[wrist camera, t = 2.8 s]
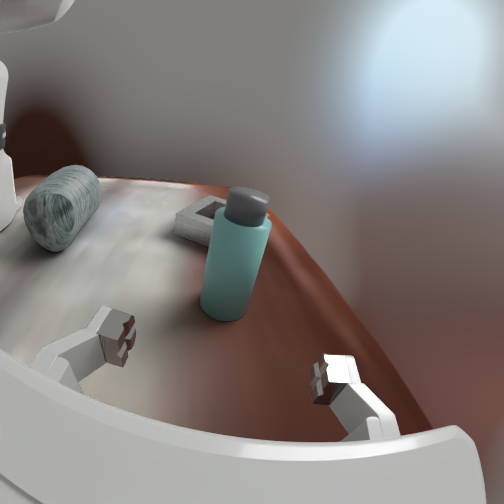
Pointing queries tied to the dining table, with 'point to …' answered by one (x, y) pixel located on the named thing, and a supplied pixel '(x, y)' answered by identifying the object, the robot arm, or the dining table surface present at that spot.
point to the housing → (199, 220)
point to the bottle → (235, 253)
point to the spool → (62, 206)
